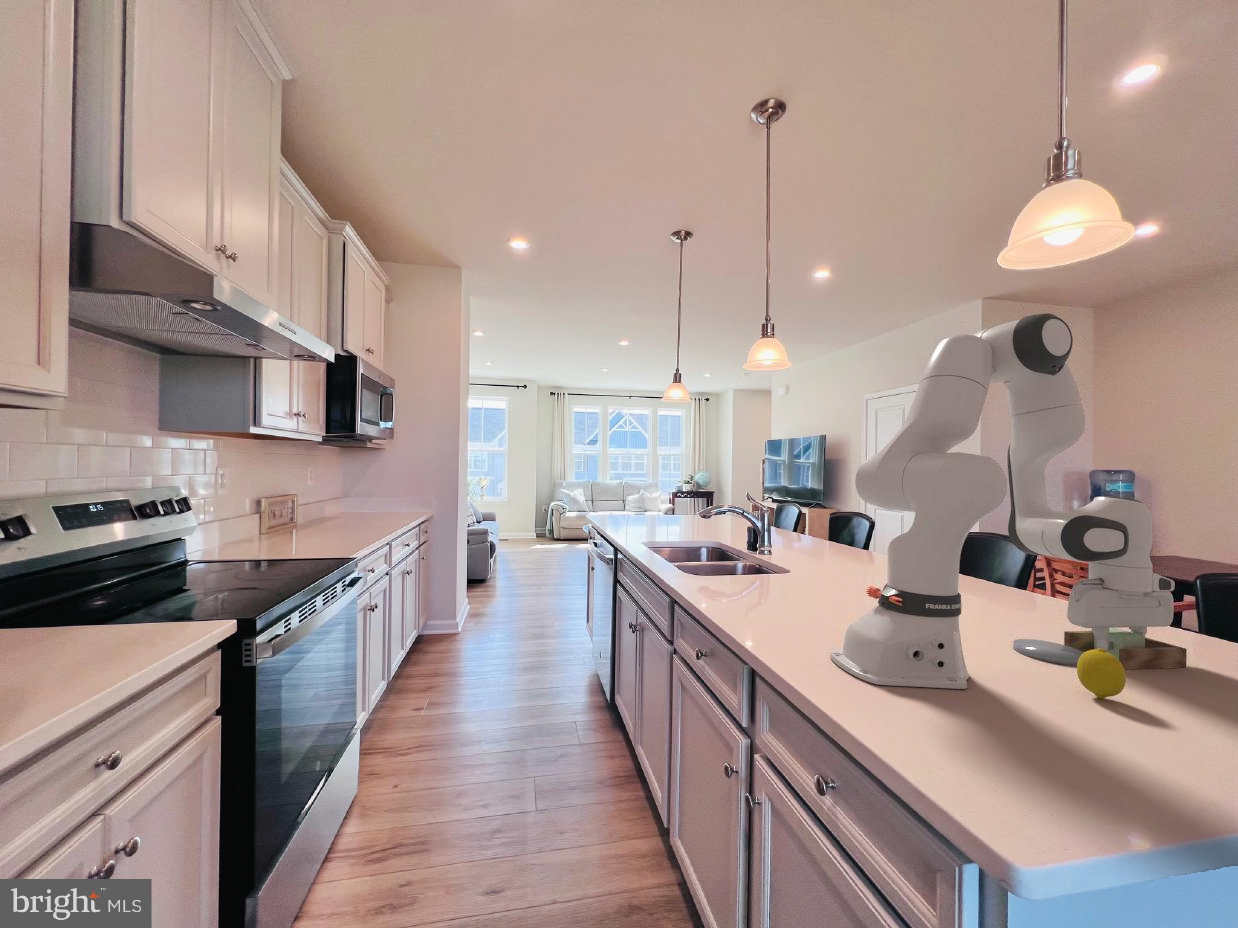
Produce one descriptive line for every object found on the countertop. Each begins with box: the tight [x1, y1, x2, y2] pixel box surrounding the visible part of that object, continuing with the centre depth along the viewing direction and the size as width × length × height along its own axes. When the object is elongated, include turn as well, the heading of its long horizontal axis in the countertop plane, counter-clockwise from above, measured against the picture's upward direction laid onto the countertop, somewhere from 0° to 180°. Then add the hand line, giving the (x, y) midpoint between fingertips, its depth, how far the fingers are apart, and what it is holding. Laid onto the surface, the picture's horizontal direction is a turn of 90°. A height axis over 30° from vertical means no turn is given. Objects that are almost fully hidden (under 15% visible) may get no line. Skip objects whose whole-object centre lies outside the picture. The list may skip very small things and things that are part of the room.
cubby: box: [1063, 630, 1188, 671], centre depth 96 cm, size 14×11×4 cm
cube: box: [1094, 628, 1146, 660], centre depth 96 cm, size 5×5×5 cm
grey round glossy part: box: [1012, 638, 1085, 666], centre depth 97 cm, size 11×11×1 cm
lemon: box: [1076, 648, 1127, 700], centre depth 77 cm, size 6×6×8 cm
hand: (1119, 648), depth 96 cm, fingers closed on cube, 5 cm apart
